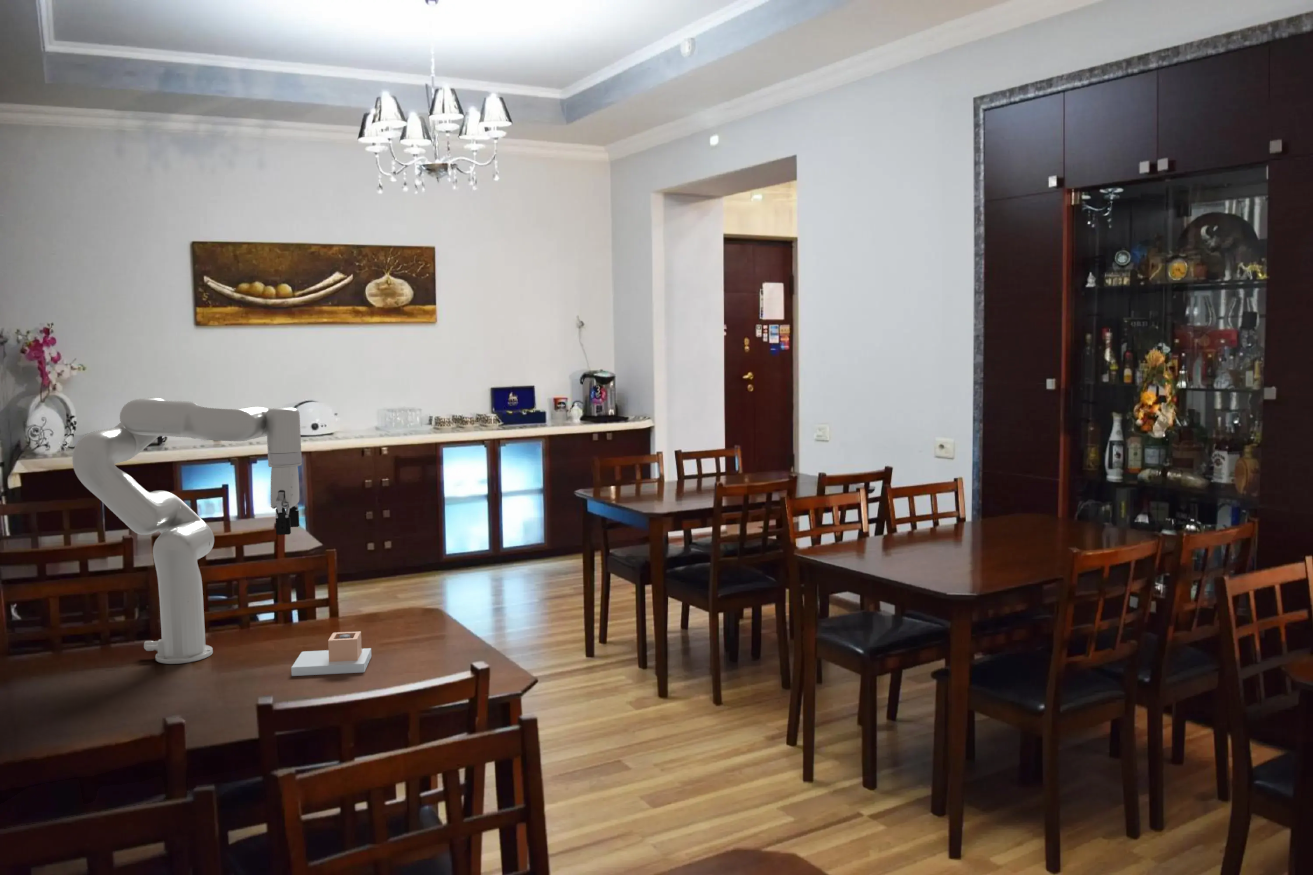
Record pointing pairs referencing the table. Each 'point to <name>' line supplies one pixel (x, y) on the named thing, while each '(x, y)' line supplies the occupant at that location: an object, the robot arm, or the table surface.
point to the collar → (344, 647)
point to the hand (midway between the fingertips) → (288, 530)
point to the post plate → (328, 663)
